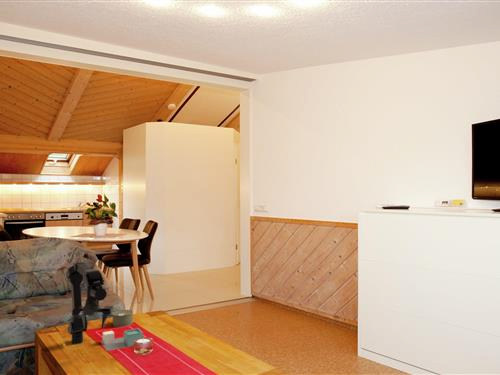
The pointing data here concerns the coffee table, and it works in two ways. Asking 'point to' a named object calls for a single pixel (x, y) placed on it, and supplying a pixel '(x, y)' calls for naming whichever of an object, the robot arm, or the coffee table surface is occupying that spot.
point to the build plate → (115, 345)
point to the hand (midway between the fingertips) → (93, 327)
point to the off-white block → (108, 337)
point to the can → (122, 318)
